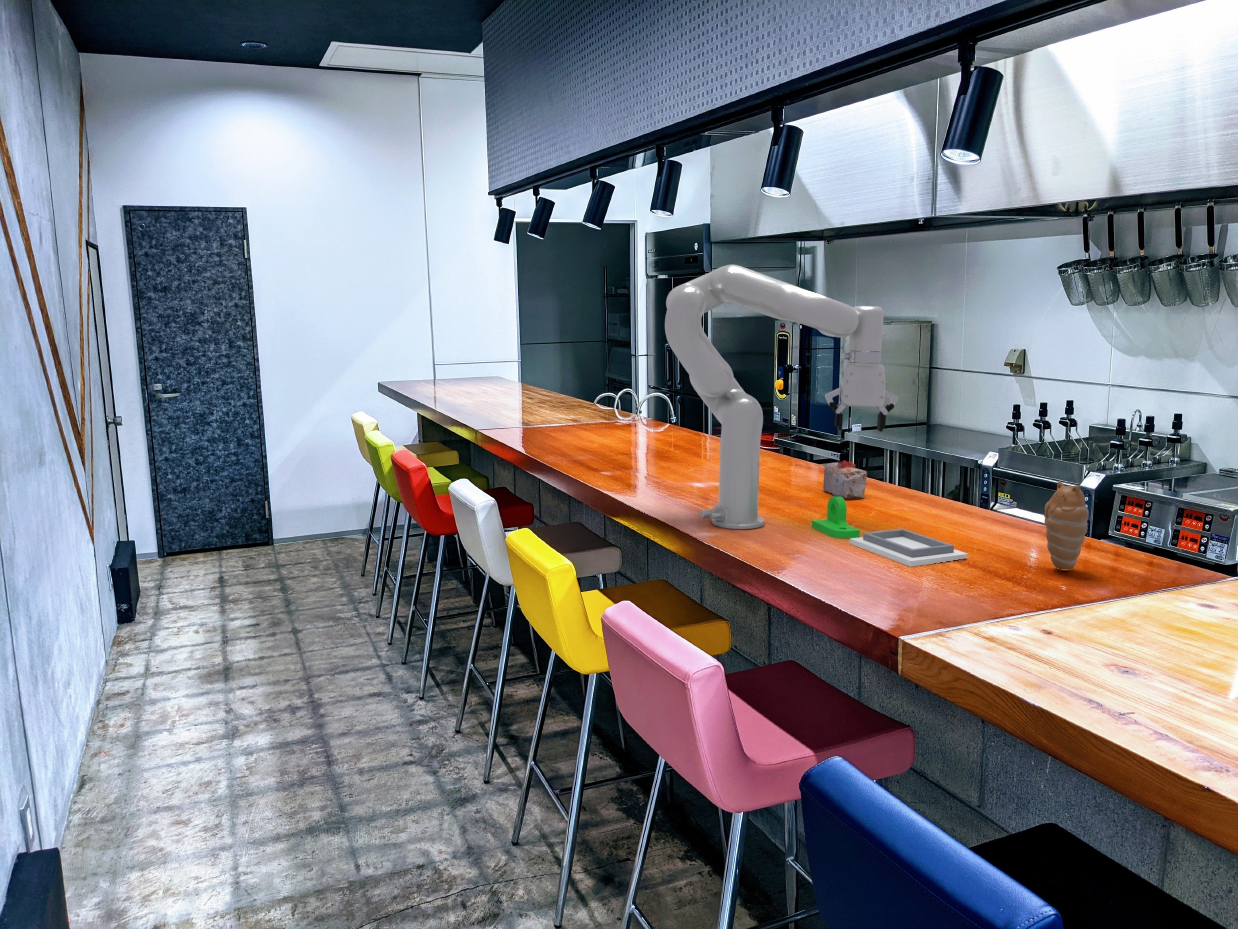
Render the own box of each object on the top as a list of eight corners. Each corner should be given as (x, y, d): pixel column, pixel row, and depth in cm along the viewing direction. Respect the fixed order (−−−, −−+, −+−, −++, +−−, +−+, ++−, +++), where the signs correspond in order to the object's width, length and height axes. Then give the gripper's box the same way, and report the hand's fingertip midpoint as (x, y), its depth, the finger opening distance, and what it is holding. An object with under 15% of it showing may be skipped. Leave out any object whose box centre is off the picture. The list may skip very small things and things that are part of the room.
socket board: (910, 566, 189) (911, 553, 189) (849, 543, 208) (850, 531, 207) (967, 559, 195) (968, 546, 195) (903, 537, 213) (904, 526, 213)
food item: (870, 499, 256) (871, 464, 254) (845, 501, 253) (846, 465, 251) (842, 490, 268) (843, 456, 267) (818, 492, 266) (819, 457, 264)
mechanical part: (811, 528, 223) (812, 495, 221) (834, 526, 224) (835, 494, 223) (836, 540, 211) (837, 506, 210) (859, 538, 213) (861, 504, 212)
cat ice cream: (1030, 567, 190) (1038, 480, 187) (1060, 563, 192) (1068, 477, 189) (1065, 578, 181) (1073, 488, 178) (1095, 575, 184) (1104, 485, 181)
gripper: (830, 358, 218) (825, 431, 220) (905, 360, 217) (899, 433, 220) (824, 357, 225) (820, 427, 228) (897, 358, 224) (892, 429, 227)
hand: (859, 430), depth 224 cm, fingers open, 9 cm apart
